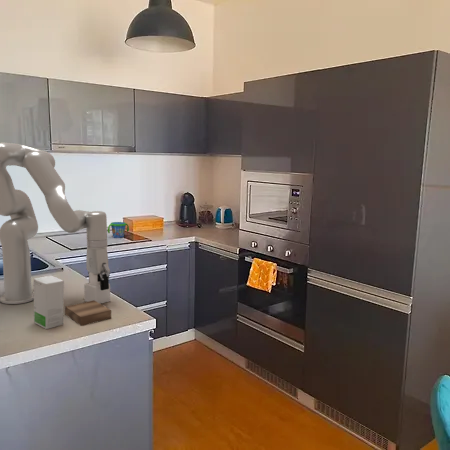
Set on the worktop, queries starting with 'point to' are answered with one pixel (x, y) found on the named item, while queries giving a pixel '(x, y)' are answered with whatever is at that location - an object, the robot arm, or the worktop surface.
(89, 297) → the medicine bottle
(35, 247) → the worktop surface
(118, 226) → the snack cup
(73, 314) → the block
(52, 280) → the skincare box
